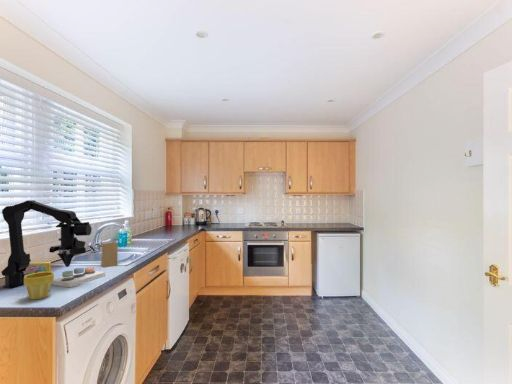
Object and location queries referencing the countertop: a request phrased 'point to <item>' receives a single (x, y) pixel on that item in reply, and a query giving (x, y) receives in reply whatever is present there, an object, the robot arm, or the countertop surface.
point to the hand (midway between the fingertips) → (67, 266)
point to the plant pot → (38, 284)
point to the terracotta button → (89, 269)
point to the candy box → (38, 267)
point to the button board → (77, 279)
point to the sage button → (67, 273)
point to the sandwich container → (109, 254)
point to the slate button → (78, 270)
